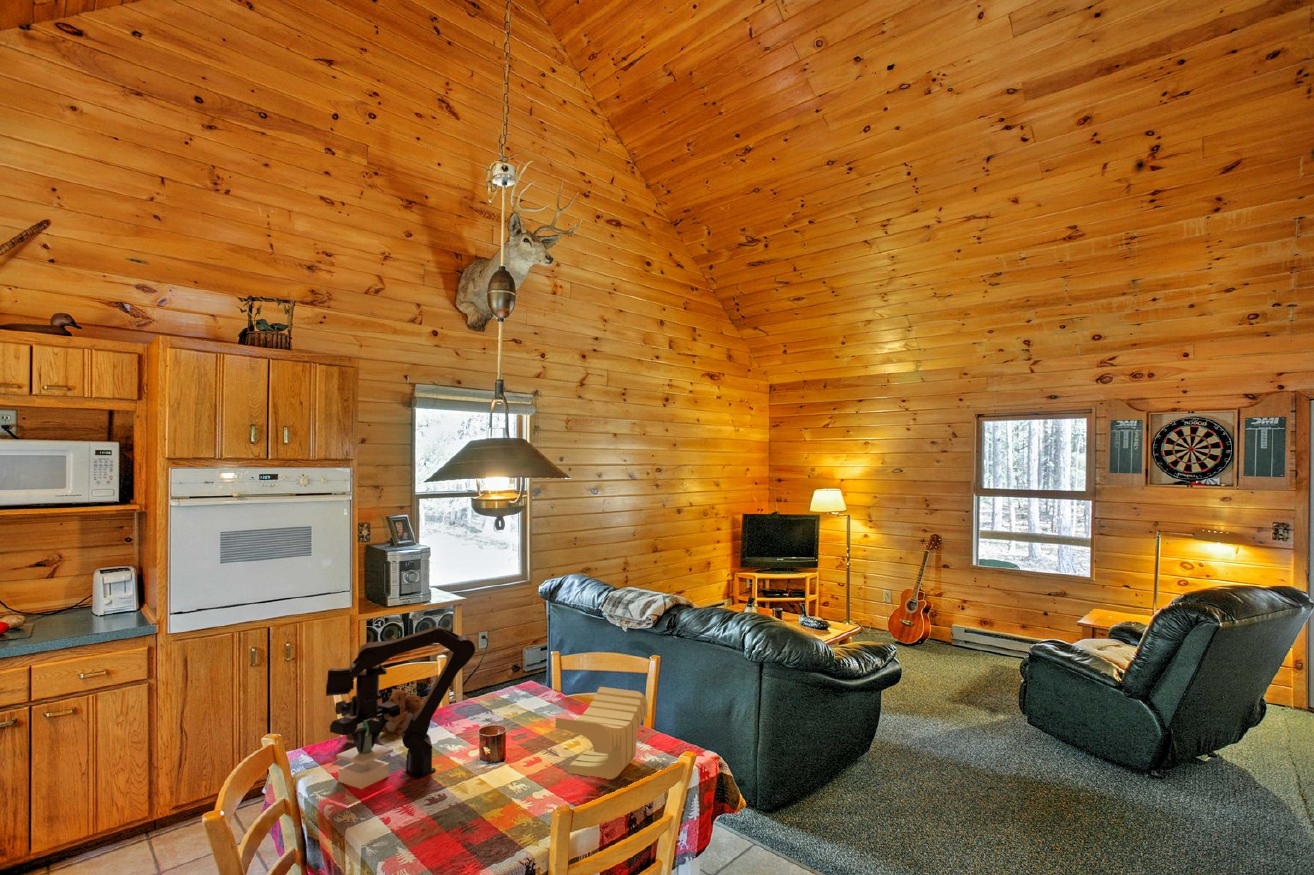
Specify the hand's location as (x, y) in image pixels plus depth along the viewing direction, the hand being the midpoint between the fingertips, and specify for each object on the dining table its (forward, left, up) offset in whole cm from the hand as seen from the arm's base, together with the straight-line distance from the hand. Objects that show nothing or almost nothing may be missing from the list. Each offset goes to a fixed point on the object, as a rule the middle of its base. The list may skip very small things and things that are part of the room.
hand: (365, 750), depth 186 cm
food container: (+22, -19, -8) cm, 30 cm away
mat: (+11, -8, -8) cm, 16 cm away
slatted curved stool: (-52, -39, -8) cm, 65 cm away
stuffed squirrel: (+22, -32, -8) cm, 40 cm away
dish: (0, 0, -8) cm, 8 cm away
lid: (0, 0, -1) cm, 1 cm away
